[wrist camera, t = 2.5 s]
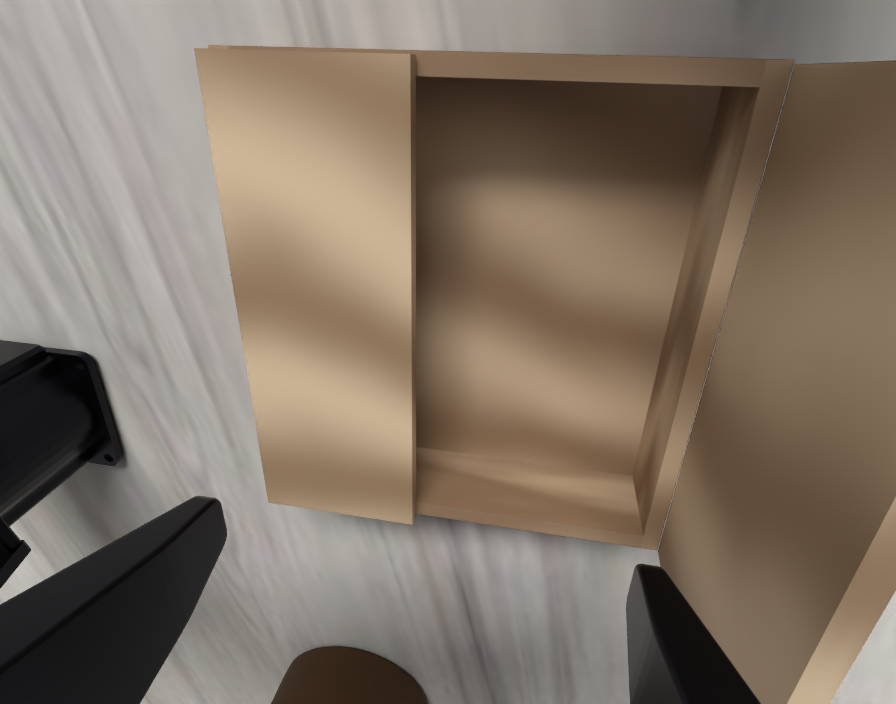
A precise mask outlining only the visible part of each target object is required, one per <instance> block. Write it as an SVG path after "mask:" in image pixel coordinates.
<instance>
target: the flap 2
mask: <svg viewBox="0 0 896 704" xmlns="http://www.w3.org/2000/svg"><path fill="white" fill-rule="evenodd" d="M658 553H659V559H660V566H661V568H663V569H664V570H665V571H666V572H667V574H668V575H669V577H670V578H671V579H672V581H673V582H674V584H675V585H676V586H677V588H678V589H679V590H680V592H681V593H682V595H683V596H684V597H685V599H686V600H687V602H688V603H689V604H690V606H691V607H692V609H693V610H694V611H695V613H696V614H697V615H698V617H699V618H700V620H701V621H702V622H703V624H704V625H705V627H706V628H707V629H708V631H709V632H710V633H711V635H712V636H713V638H714V639H715V640H716V642H717V643H718V645H719V646H720V647H721V649H722V650H723V652H724V653H725V654H726V656H727V657H728V658H729V660H730V661H731V663H732V664H733V665H734V667H735V668H736V670H737V671H738V672H739V674H740V675H741V677H742V678H743V679H744V681H745V682H746V683H747V685H748V686H749V688H750V689H751V690H752V692H753V693H754V695H755V696H756V697H757V699H758V700H759V702H760V703H761V704H829V703H830V702H831V700H832V698H833V697H834V695H835V693H836V692H837V690H838V688H839V686H840V685H841V683H842V681H843V680H844V678H845V676H846V674H847V673H848V671H849V669H850V668H851V666H852V664H853V662H854V661H855V659H856V657H857V656H858V654H859V652H860V651H861V649H862V647H863V645H864V644H865V642H866V640H867V639H868V637H869V635H870V633H871V632H872V630H873V628H874V627H875V625H876V623H877V622H878V620H879V618H880V616H881V615H882V613H883V611H884V610H885V608H886V606H887V604H888V603H889V601H890V599H891V598H892V596H893V594H894V592H895V591H896V61H872V62H846V63H820V64H795V66H794V69H793V73H792V76H791V80H790V84H789V87H788V91H787V94H786V98H785V101H784V105H783V108H782V112H781V116H780V119H779V123H778V126H777V130H776V133H775V137H774V140H773V144H772V148H771V151H770V155H769V158H768V162H767V165H766V169H765V172H764V176H763V180H762V183H761V187H760V190H759V194H758V197H757V201H756V204H755V208H754V211H753V215H752V219H751V222H750V226H749V229H748V233H747V236H746V240H745V243H744V247H743V251H742V254H741V258H740V261H739V265H738V268H737V272H736V275H735V279H734V283H733V286H732V290H731V293H730V297H729V300H728V304H727V307H726V311H725V315H724V318H723V322H722V325H721V329H720V332H719V336H718V339H717V343H716V346H715V350H714V354H713V357H712V361H711V364H710V368H709V371H708V375H707V378H706V382H705V386H704V389H703V393H702V396H701V400H700V403H699V407H698V410H697V414H696V418H695V421H694V425H693V428H692V432H691V435H690V439H689V442H688V446H687V450H686V453H685V457H684V460H683V464H682V467H681V471H680V474H679V478H678V481H677V485H676V489H675V492H674V496H673V499H672V503H671V506H670V510H669V513H668V517H667V521H666V524H665V528H664V531H663V535H662V538H661V542H660V545H659V549H658Z"/></svg>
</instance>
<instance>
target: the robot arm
mask: <svg viewBox="0 0 896 704" xmlns="http://www.w3.org/2000/svg"><path fill="white" fill-rule="evenodd" d="M122 459H123V454H122V451H121V447H120V444H119V441H118V438H117V434H116V431H115V428H114V425H113V421H112V418H111V415H110V412H109V408H108V405H107V402H106V399H105V395H104V392H103V389H102V386H101V382H100V379H99V376H98V373H97V369H96V366H95V363H94V361H93V359H92V357H91V356H90V355H88V354H87V353H85V352H81V351H72V350H64V349H55V348H47V347H43V346H40V345H36V344H28V343H19V342H11V341H2V340H0V588H1V587H2V586H3V585H4V583H5V582H6V581H7V580H8V578H9V577H10V576H11V575H12V573H13V572H14V571H15V570H16V568H17V567H18V566H19V565H20V563H21V562H22V561H23V560H24V558H25V557H26V556H27V555H28V554H29V552H30V551H31V548H30V547H29V546H28V545H27V543H26V542H25V541H24V540H20V539H19V538H18V537H17V535H16V534H15V533H14V532H13V531H12V529H11V528H10V526H11V525H12V524H13V523H14V522H16V521H17V520H18V519H19V518H20V517H22V516H23V515H24V514H25V513H26V512H28V511H29V510H30V509H31V508H32V507H34V506H35V505H36V504H37V503H39V502H40V501H41V500H42V499H43V498H45V497H46V496H47V495H48V494H49V493H51V492H52V491H53V490H54V489H55V488H57V487H58V486H59V485H60V484H62V483H63V482H64V481H65V480H66V479H68V478H69V477H70V476H71V475H72V474H74V473H75V472H76V471H77V470H78V469H80V468H81V467H82V466H83V465H85V464H86V463H87V462H90V463H96V464H103V465H110V466H115V465H116V464H118V463H119V462H120V461H121V460H122ZM226 537H227V528H226V524H225V519H224V515H223V510H222V506H221V503H220V501H219V500H218V499H216V498H212V497H205V496H195V497H193V498H191V499H189V500H187V501H186V502H184V503H182V504H180V505H178V506H177V507H175V508H173V509H171V510H169V511H168V512H166V513H164V514H162V515H160V516H159V517H157V518H155V519H153V520H152V521H150V522H148V523H146V524H144V525H143V526H141V527H139V528H137V529H135V530H134V531H132V532H130V533H128V534H126V535H125V536H123V537H121V538H119V539H117V540H116V541H114V542H112V543H110V544H108V545H107V546H105V547H103V548H101V549H99V550H98V551H96V552H94V553H92V554H90V555H89V556H87V557H85V558H83V559H81V560H80V561H78V562H76V563H74V564H72V565H71V566H69V567H67V568H65V569H63V570H62V571H60V572H58V573H56V574H54V575H53V576H51V577H49V578H47V579H45V580H44V581H42V582H40V583H38V584H37V585H35V586H33V587H31V588H29V589H28V590H26V591H24V592H22V593H20V594H19V595H17V596H15V597H13V598H11V599H10V600H8V601H6V602H4V603H2V604H1V605H0V704H140V702H141V701H142V699H143V697H144V696H145V694H146V692H147V691H148V689H149V687H150V686H151V684H152V682H153V680H154V679H155V677H156V675H157V674H158V672H159V670H160V669H161V667H162V665H163V664H164V662H165V660H166V658H167V657H168V655H169V653H170V652H171V650H172V648H173V647H174V645H175V643H176V642H177V640H178V638H179V637H180V635H181V633H182V631H183V629H184V628H185V626H186V624H187V622H188V620H189V619H190V617H191V615H192V613H193V611H194V609H195V606H196V604H197V602H198V600H199V598H200V596H201V594H202V591H203V589H204V587H205V585H206V583H207V581H208V579H209V576H210V574H211V572H212V570H213V568H214V566H215V564H216V562H217V559H218V557H219V555H220V553H221V551H222V549H223V547H224V544H225V541H226ZM626 616H627V641H628V666H629V691H630V704H761V703H760V702H759V700H758V699H757V697H756V696H755V695H754V693H753V692H752V690H751V689H750V688H749V686H748V685H747V683H746V682H745V681H744V679H743V678H742V677H741V675H740V674H739V672H738V671H737V670H736V668H735V667H734V665H733V664H732V663H731V661H730V660H729V658H728V657H727V656H726V654H725V653H724V652H723V650H722V649H721V647H720V646H719V645H718V643H717V642H716V640H715V639H714V638H713V636H712V635H711V633H710V632H709V631H708V629H707V628H706V627H705V625H704V624H703V622H702V621H701V620H700V618H699V617H698V615H697V614H696V613H695V611H694V610H693V609H692V607H691V606H690V604H689V603H688V602H687V600H686V599H685V597H684V596H683V595H682V593H681V592H680V590H679V589H678V588H677V586H676V585H675V584H674V582H673V581H672V579H671V578H670V577H669V575H668V574H667V572H666V571H665V570H664V569H663V568H661V567H659V566H652V565H646V564H638V565H636V567H635V569H634V573H633V576H632V580H631V584H630V588H629V592H628V596H627V604H626Z"/></svg>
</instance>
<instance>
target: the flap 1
mask: <svg viewBox="0 0 896 704" xmlns="http://www.w3.org/2000/svg"><path fill="white" fill-rule="evenodd" d="M194 50H195V56H196V62H197V69H198V75H199V81H200V87H201V93H202V99H203V105H204V111H205V117H206V124H207V130H208V136H209V142H210V148H211V154H212V160H213V166H214V172H215V179H216V185H217V191H218V197H219V203H220V209H221V215H222V221H223V227H224V234H225V240H226V246H227V252H228V258H229V264H230V270H231V276H232V282H233V289H234V295H235V301H236V307H237V313H238V319H239V325H240V331H241V337H242V344H243V350H244V356H245V362H246V368H247V374H248V380H249V386H250V393H251V399H252V405H253V411H254V417H255V423H256V429H257V435H258V441H259V448H260V454H261V460H262V466H263V472H264V478H265V484H266V490H267V496H268V502H269V503H275V504H282V505H288V506H295V507H301V508H308V509H314V510H321V511H327V512H333V513H340V514H346V515H353V516H359V517H366V518H372V519H378V520H385V521H391V522H398V523H404V524H411V525H413V522H414V519H415V516H416V55H415V54H394V53H355V52H317V51H278V50H239V49H201V48H194Z"/></svg>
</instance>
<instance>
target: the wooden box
mask: <svg viewBox="0 0 896 704" xmlns="http://www.w3.org/2000/svg"><path fill="white" fill-rule="evenodd" d="M208 48H209V49H239V50H278V51H317V52H355V53H394V54H415V55H416V514H421V515H428V516H434V517H441V518H448V519H454V520H461V521H467V522H474V523H480V524H487V525H493V526H500V527H507V528H513V529H520V530H526V531H533V532H539V533H546V534H553V535H559V536H566V537H572V538H579V539H585V540H592V541H599V542H605V543H612V544H618V545H625V546H631V547H638V548H645V549H651V550H657V549H658V545H659V542H660V538H661V535H662V531H663V528H664V524H665V520H666V517H667V513H668V510H669V506H670V503H671V499H672V495H673V492H674V488H675V485H676V481H677V478H678V474H679V470H680V467H681V463H682V460H683V456H684V453H685V449H686V445H687V442H688V438H689V435H690V431H691V428H692V424H693V421H694V417H695V413H696V410H697V406H698V403H699V399H700V396H701V392H702V388H703V385H704V381H705V378H706V374H707V371H708V367H709V363H710V360H711V356H712V353H713V349H714V346H715V342H716V338H717V335H718V331H719V328H720V324H721V321H722V317H723V313H724V310H725V306H726V303H727V299H728V296H729V292H730V289H731V285H732V281H733V278H734V274H735V271H736V267H737V264H738V260H739V256H740V253H741V249H742V246H743V242H744V239H745V235H746V231H747V228H748V224H749V221H750V217H751V214H752V210H753V206H754V203H755V199H756V196H757V192H758V189H759V185H760V181H761V178H762V174H763V171H764V167H765V164H766V160H767V157H768V153H769V149H770V146H771V142H772V139H773V135H774V132H775V128H776V124H777V121H778V117H779V114H780V110H781V107H782V103H783V99H784V96H785V92H786V89H787V85H788V82H789V78H790V74H791V71H792V67H793V64H794V60H786V59H745V58H705V57H665V56H625V55H585V54H544V53H504V52H464V51H424V50H383V49H343V48H303V47H263V46H223V45H208Z"/></svg>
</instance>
